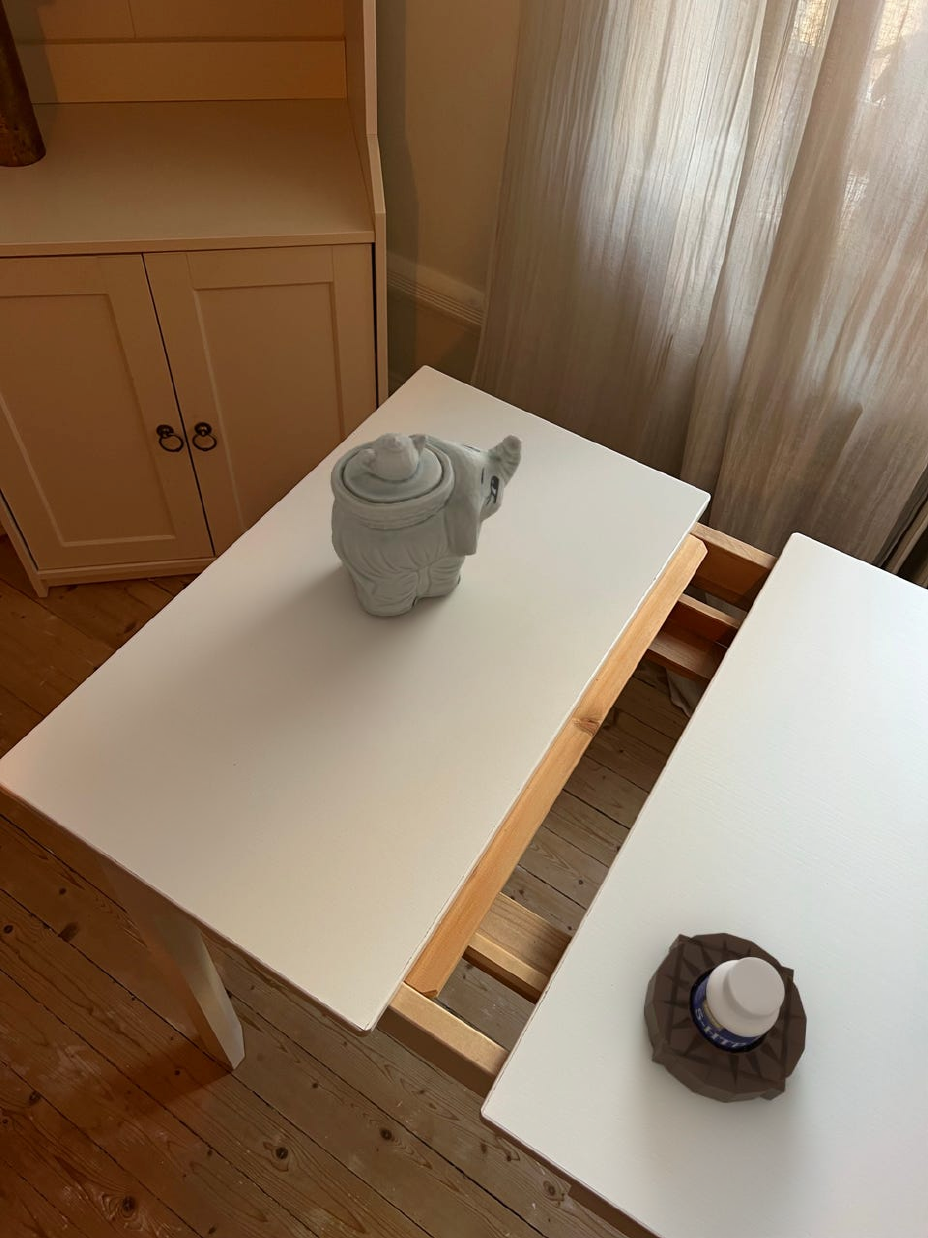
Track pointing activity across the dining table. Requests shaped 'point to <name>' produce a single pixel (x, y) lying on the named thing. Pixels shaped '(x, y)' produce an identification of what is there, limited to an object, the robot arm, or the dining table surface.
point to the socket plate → (696, 1055)
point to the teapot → (414, 513)
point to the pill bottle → (737, 1003)
